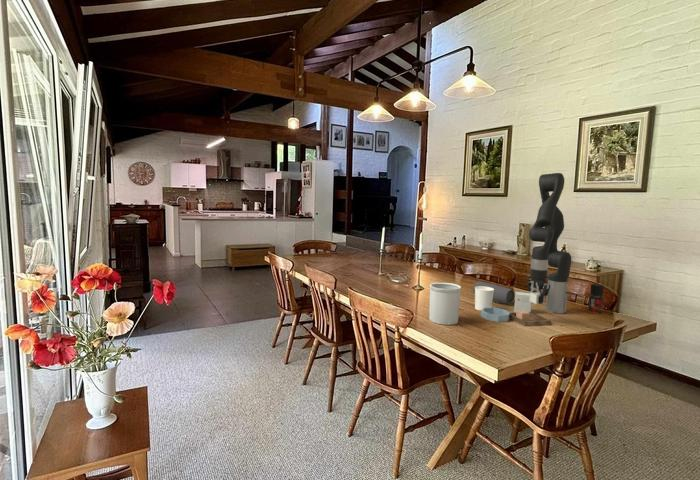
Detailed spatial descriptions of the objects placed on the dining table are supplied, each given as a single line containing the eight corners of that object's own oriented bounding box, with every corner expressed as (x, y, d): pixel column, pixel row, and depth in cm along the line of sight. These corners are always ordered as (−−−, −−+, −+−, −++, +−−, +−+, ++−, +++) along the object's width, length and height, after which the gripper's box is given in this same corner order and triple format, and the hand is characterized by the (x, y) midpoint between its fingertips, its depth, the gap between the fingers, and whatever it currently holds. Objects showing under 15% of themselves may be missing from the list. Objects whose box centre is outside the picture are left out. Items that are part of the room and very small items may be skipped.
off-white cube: (537, 300, 188) (538, 292, 188) (543, 303, 184) (544, 294, 183) (529, 301, 187) (530, 292, 187) (536, 304, 183) (536, 295, 182)
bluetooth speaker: (514, 304, 216) (516, 287, 215) (505, 307, 211) (506, 289, 210) (481, 295, 235) (482, 279, 234) (471, 297, 230) (472, 281, 229)
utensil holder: (421, 317, 188) (423, 283, 186) (446, 314, 194) (448, 281, 192) (439, 327, 175) (442, 290, 173) (465, 323, 181) (467, 288, 179)
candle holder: (494, 313, 199) (495, 291, 197) (474, 311, 200) (476, 289, 199) (490, 308, 208) (492, 286, 207) (472, 306, 210) (473, 285, 209)
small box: (530, 312, 202) (532, 293, 201) (530, 315, 197) (532, 295, 196) (514, 310, 206) (515, 291, 204) (513, 312, 200) (515, 293, 199)
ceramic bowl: (498, 314, 197) (499, 307, 197) (514, 322, 185) (515, 314, 184) (476, 314, 195) (477, 307, 194) (490, 323, 182) (491, 315, 182)
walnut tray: (530, 316, 195) (531, 311, 194) (550, 326, 181) (551, 320, 181) (506, 317, 192) (506, 312, 191) (524, 327, 178) (525, 322, 178)
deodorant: (587, 311, 207) (590, 284, 205) (589, 309, 211) (592, 283, 210) (599, 313, 203) (602, 286, 201) (601, 311, 207) (604, 285, 206)
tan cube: (523, 319, 188) (524, 310, 188) (529, 322, 184) (530, 313, 183) (515, 319, 187) (516, 310, 187) (521, 322, 183) (522, 313, 182)
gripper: (556, 270, 177) (554, 305, 179) (535, 265, 191) (533, 297, 193) (543, 271, 176) (540, 306, 178) (522, 265, 189) (520, 298, 192)
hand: (536, 301), depth 186 cm, fingers closed on off-white cube, 4 cm apart
